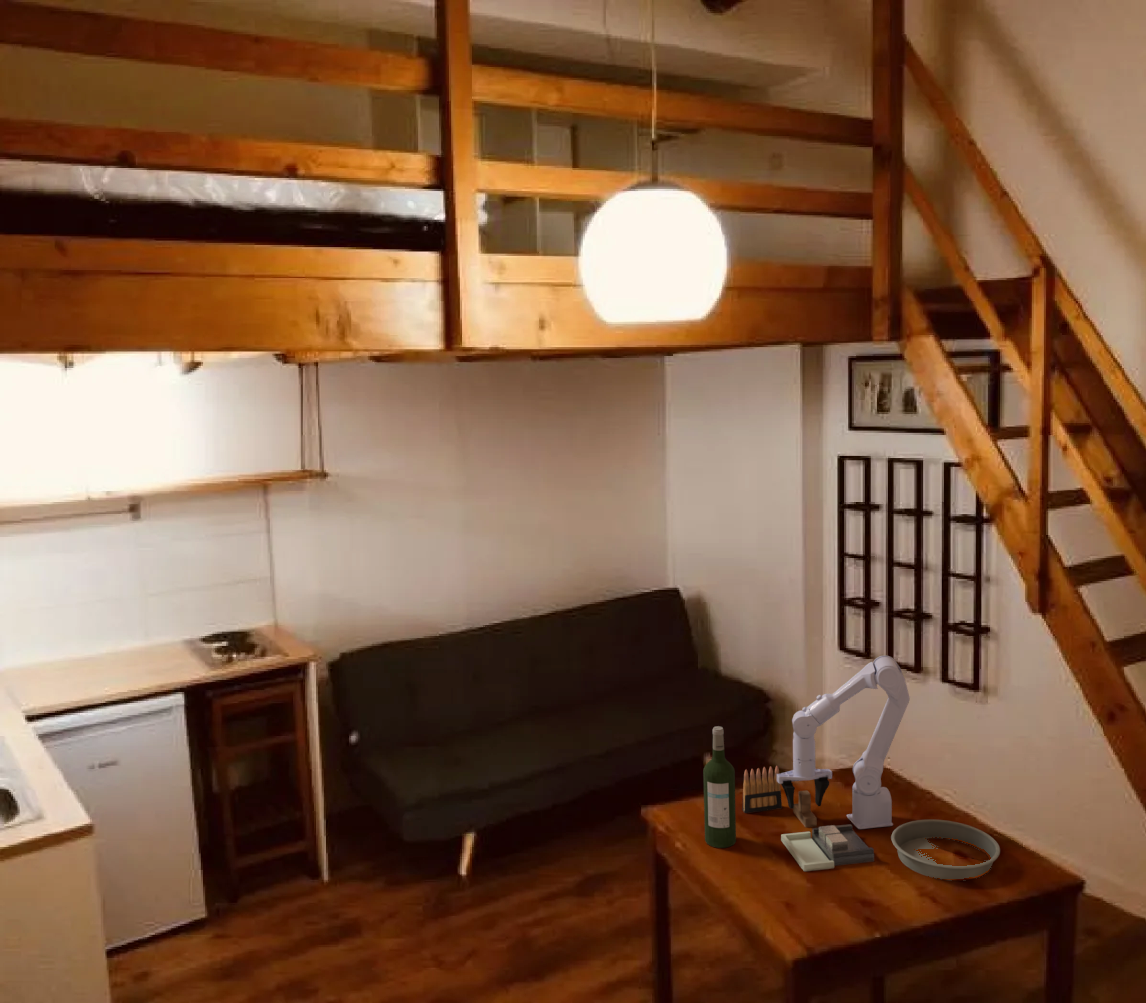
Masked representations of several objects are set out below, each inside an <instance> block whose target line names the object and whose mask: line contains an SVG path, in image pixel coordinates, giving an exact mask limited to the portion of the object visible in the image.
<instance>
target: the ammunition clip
mask: <svg viewBox="0 0 1146 1003" xmlns="http://www.w3.org/2000/svg"><path fill="white" fill-rule="evenodd" d="M777 774H780V770H779V766H778V765H776V766H775V769H774V771H773V767H772V766H769V769H768V773H767V769H766V767H765V766H763V768H762V774H761V770H760V768H759V767H758V768H757V769H756V774H755V771H754V769H753V768H751V770H750V774H749V773H748V770H747V768H746V769H745V770H744V774H743V785H742V786H743V791H742V809H741V810H742V811H743V813H744V814H750V813H757V812H758V813H759V812H765V811H774V810H780V809H781V810H782V808H783V805H782V804H783V803H782V802H783V801H782V790H781V784H779V783H778V782H777ZM749 775H750V777H749ZM761 775H762V776H761Z"/></svg>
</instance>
